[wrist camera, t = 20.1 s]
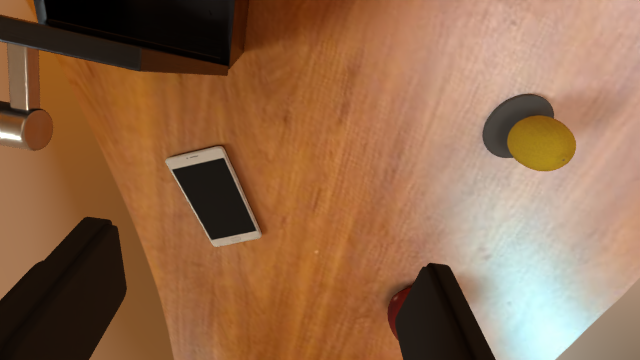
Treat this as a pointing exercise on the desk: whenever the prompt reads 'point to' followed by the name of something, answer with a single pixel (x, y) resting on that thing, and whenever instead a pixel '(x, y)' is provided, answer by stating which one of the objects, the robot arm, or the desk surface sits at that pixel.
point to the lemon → (541, 143)
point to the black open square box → (158, 24)
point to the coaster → (511, 120)
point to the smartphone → (215, 195)
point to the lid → (29, 37)
